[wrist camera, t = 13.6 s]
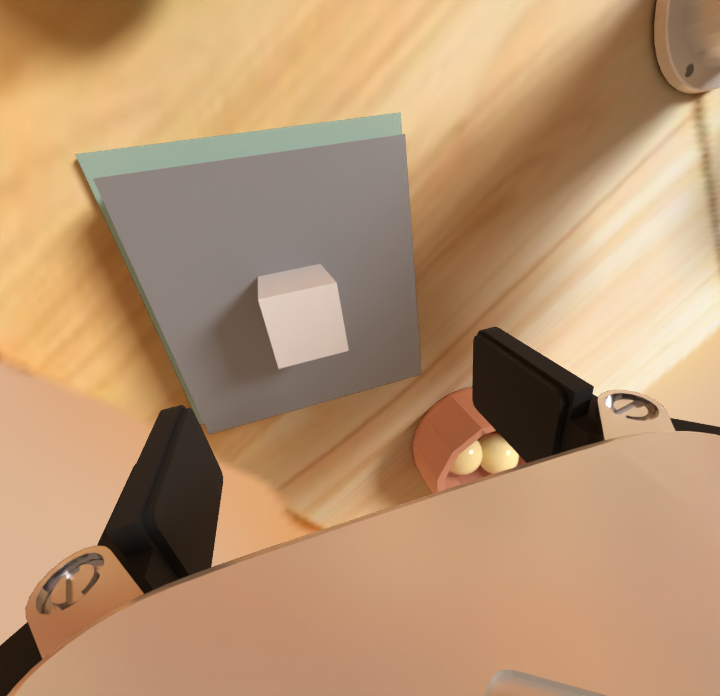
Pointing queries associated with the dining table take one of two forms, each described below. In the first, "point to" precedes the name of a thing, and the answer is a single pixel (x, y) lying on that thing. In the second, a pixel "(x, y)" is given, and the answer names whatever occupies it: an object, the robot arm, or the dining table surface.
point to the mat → (215, 151)
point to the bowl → (459, 444)
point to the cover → (277, 273)
